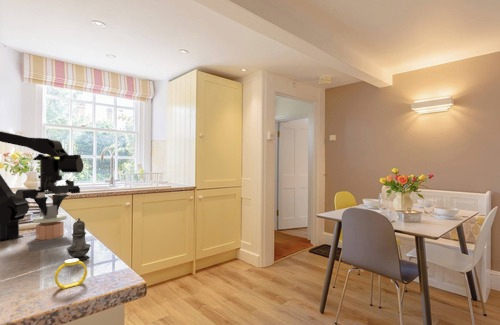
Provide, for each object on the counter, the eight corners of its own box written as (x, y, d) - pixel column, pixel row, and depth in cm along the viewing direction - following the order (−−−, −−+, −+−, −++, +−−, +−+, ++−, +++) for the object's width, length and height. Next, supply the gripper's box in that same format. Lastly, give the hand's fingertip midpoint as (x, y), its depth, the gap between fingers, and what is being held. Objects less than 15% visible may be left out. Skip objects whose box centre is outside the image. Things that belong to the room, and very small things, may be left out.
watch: (85, 281, 62) (87, 256, 62) (86, 286, 60) (89, 259, 60) (53, 287, 58) (56, 260, 59) (54, 292, 56) (56, 264, 56)
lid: (26, 221, 95) (26, 206, 95) (57, 216, 104) (57, 202, 104) (41, 224, 90) (41, 208, 90) (72, 218, 99) (72, 204, 99)
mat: (27, 244, 88) (27, 243, 88) (66, 238, 96) (66, 237, 96) (30, 253, 80) (30, 251, 80) (72, 245, 88) (72, 243, 88)
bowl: (31, 238, 95) (31, 224, 95) (56, 233, 102) (56, 220, 102) (43, 241, 92) (43, 227, 92) (68, 235, 99) (68, 222, 99)
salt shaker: (78, 264, 72) (78, 220, 72) (61, 262, 73) (61, 219, 73) (95, 256, 78) (95, 216, 78) (78, 255, 79) (78, 215, 79)
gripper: (31, 174, 85) (31, 222, 85) (88, 172, 102) (88, 212, 102) (14, 173, 90) (14, 218, 90) (71, 171, 107) (71, 209, 107)
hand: (50, 214), depth 97 cm, fingers closed on lid, 3 cm apart
